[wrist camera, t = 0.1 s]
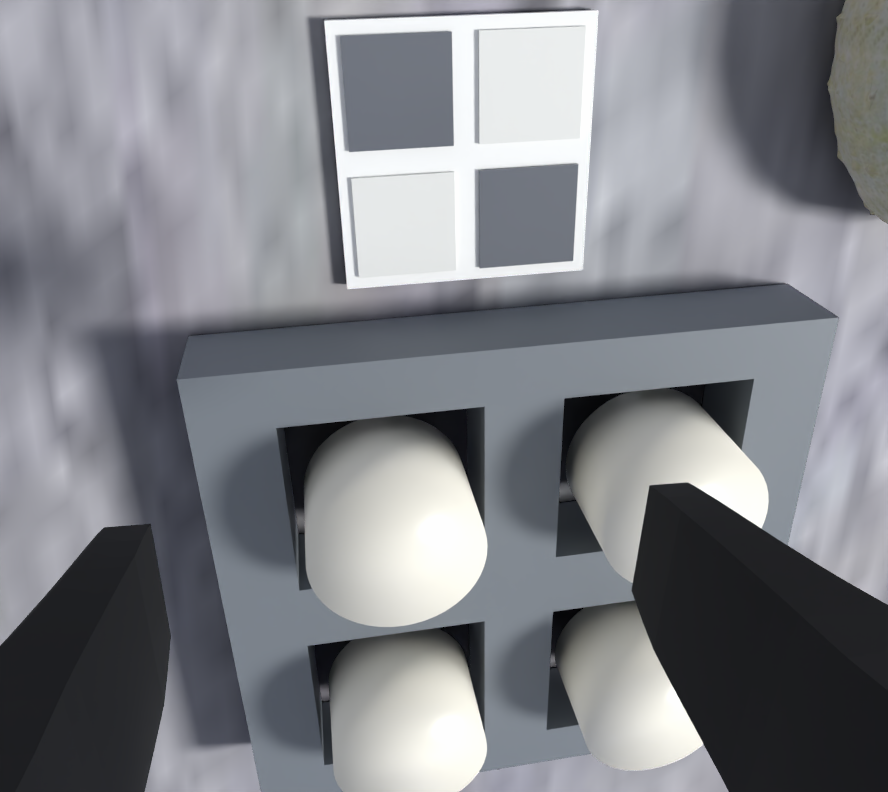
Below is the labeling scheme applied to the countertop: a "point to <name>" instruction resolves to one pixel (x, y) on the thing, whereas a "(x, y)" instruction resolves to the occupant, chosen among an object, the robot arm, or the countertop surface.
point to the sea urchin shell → (863, 99)
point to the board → (473, 480)
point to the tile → (462, 143)
